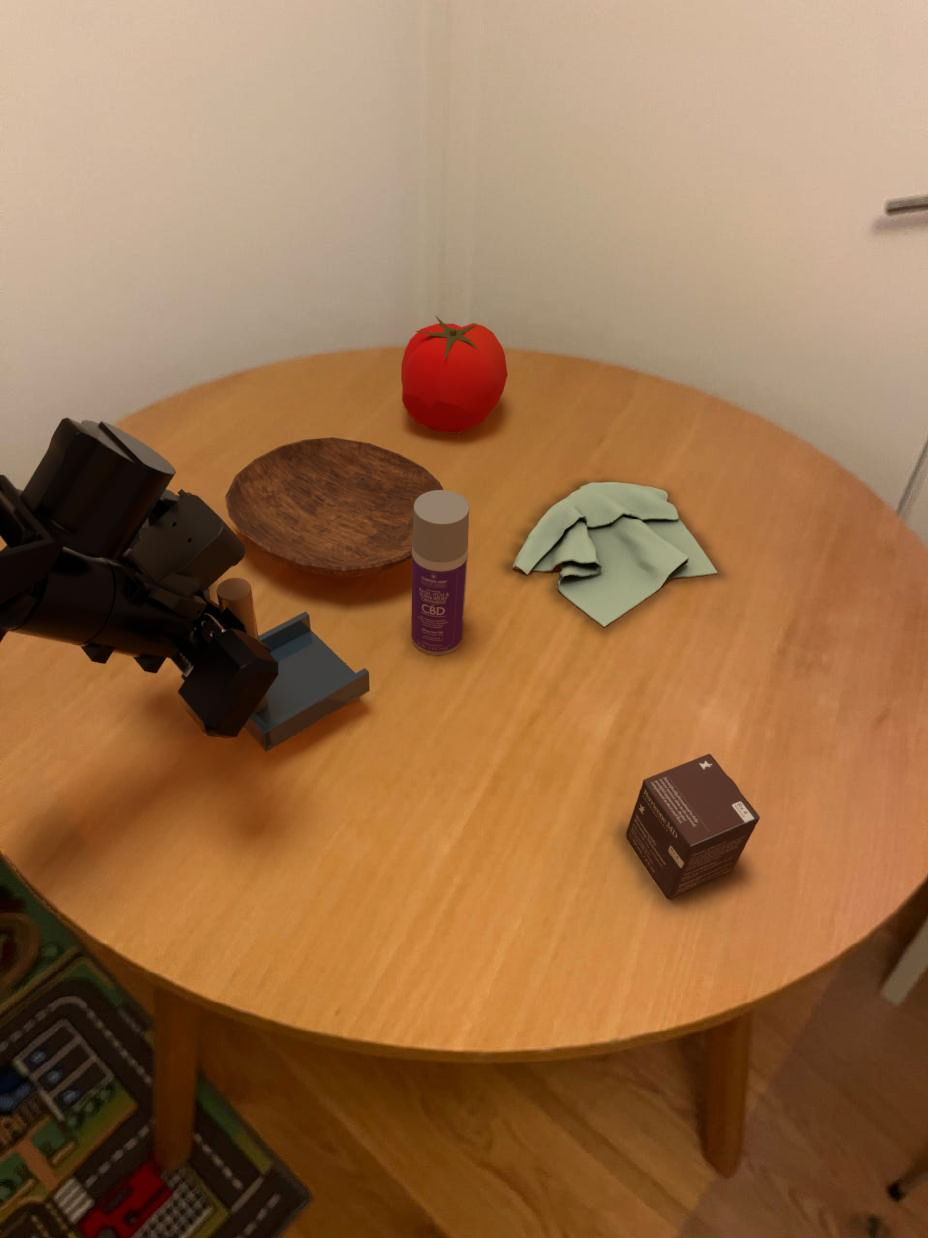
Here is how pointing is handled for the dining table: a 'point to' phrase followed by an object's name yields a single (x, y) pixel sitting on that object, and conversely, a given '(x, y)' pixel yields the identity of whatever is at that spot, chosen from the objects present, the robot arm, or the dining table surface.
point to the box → (690, 824)
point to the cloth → (613, 547)
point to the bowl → (330, 505)
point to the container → (439, 571)
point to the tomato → (452, 376)
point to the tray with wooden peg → (293, 672)
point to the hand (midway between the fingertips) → (258, 643)
